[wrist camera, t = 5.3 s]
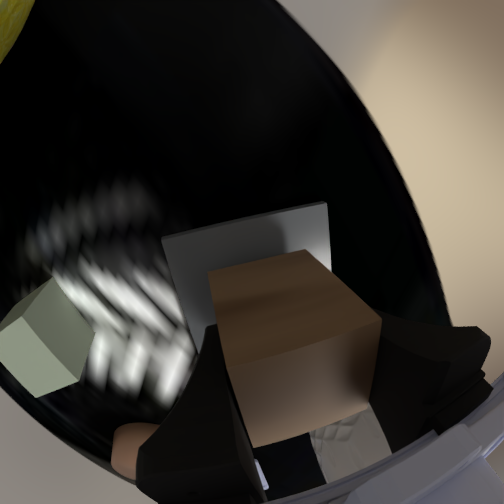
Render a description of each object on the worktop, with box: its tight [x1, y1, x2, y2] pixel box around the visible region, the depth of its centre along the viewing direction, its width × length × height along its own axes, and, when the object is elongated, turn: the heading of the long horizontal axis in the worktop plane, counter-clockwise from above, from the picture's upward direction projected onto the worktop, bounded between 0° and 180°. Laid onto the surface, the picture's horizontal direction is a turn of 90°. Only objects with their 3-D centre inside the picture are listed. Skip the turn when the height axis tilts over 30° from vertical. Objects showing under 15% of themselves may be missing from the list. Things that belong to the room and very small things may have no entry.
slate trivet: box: [161, 201, 331, 353], centre depth 15 cm, size 8×8×1 cm
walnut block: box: [207, 249, 382, 448], centre depth 11 cm, size 4×4×6 cm
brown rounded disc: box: [111, 423, 160, 480], centre depth 17 cm, size 6×6×3 cm
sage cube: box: [0, 277, 95, 398], centre depth 11 cm, size 4×4×4 cm
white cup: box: [309, 402, 392, 484], centre depth 16 cm, size 8×8×10 cm
